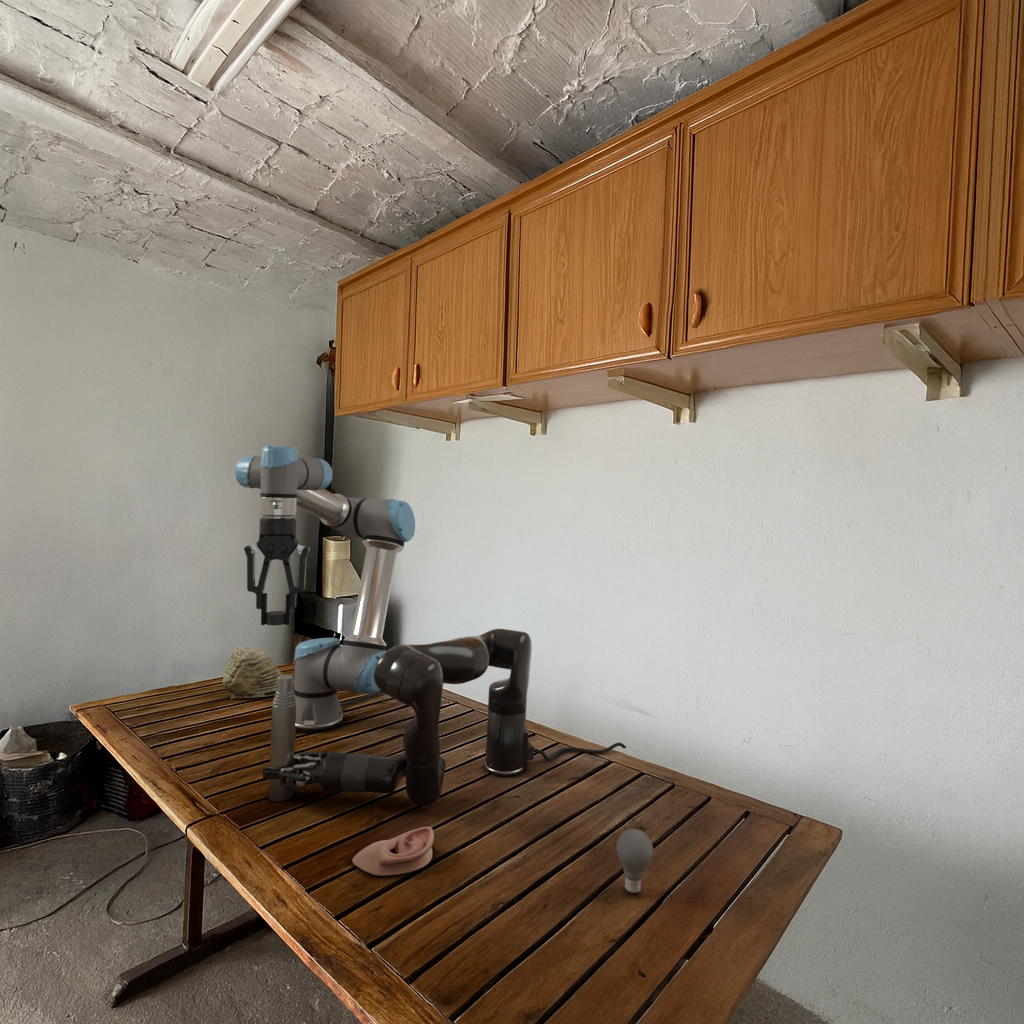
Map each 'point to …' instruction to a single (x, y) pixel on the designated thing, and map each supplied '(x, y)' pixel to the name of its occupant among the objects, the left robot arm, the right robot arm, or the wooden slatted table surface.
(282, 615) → the cap
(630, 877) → the light bulb
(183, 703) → the wooden slatted table surface
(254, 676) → the fossil
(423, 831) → the anatomical model
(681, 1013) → the wooden slatted table surface
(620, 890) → the wooden slatted table surface
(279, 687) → the bottle
